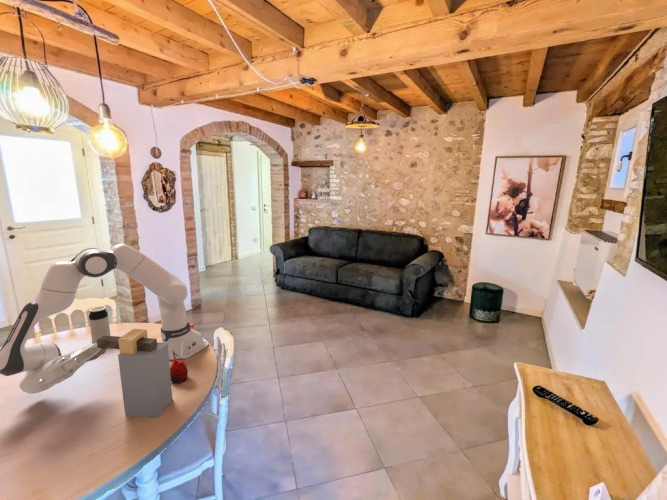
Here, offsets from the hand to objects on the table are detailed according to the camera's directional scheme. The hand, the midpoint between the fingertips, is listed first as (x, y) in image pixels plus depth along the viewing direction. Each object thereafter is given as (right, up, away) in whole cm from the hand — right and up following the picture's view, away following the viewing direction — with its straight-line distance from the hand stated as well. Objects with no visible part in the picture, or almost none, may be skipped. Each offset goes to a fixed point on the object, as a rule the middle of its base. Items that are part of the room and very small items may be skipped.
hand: (88, 353), depth 118 cm
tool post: (+21, -21, +3) cm, 30 cm away
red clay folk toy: (+24, -18, +20) cm, 36 cm away
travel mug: (-32, -10, +52) cm, 62 cm away
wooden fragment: (-28, -14, +35) cm, 47 cm away
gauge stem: (+16, +3, -2) cm, 16 cm away
